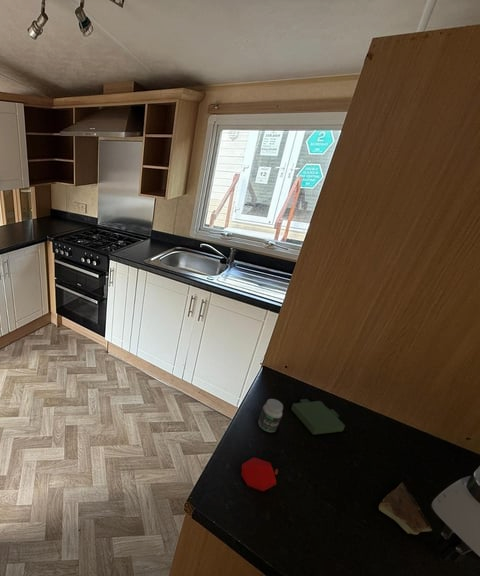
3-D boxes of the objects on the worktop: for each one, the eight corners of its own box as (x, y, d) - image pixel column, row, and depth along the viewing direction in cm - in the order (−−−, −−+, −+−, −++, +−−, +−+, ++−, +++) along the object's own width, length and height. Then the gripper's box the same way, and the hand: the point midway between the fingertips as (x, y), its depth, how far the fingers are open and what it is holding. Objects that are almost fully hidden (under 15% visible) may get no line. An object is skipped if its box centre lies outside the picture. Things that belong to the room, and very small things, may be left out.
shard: (400, 485, 73) (403, 480, 72) (443, 517, 67) (448, 512, 66) (375, 506, 69) (378, 502, 68) (419, 543, 63) (423, 538, 62)
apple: (240, 474, 70) (279, 472, 67) (235, 452, 76) (271, 449, 73) (247, 499, 71) (286, 499, 68) (242, 475, 77) (277, 474, 75)
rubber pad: (318, 402, 96) (320, 397, 95) (346, 430, 86) (349, 425, 85) (288, 405, 94) (290, 400, 93) (313, 434, 85) (315, 429, 84)
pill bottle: (258, 429, 87) (265, 407, 83) (257, 416, 91) (264, 395, 87) (277, 435, 85) (285, 413, 81) (275, 422, 89) (283, 400, 85)
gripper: (588, 547, 46) (513, 602, 54) (467, 454, 59) (421, 510, 67) (546, 554, 45) (476, 610, 53) (433, 458, 58) (391, 514, 66)
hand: (445, 554), depth 60 cm, fingers closed
